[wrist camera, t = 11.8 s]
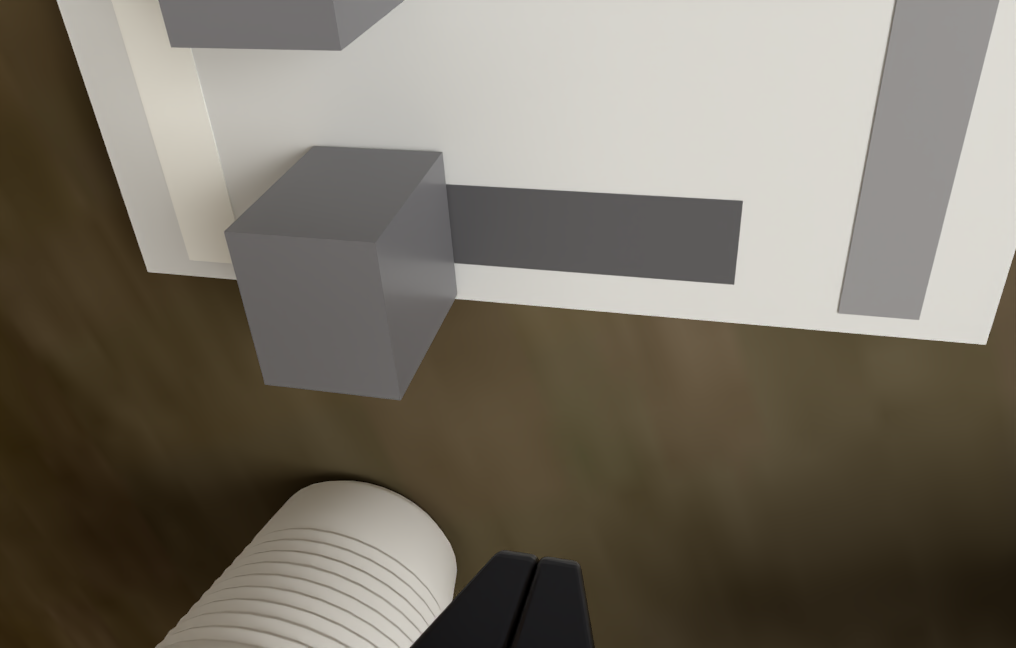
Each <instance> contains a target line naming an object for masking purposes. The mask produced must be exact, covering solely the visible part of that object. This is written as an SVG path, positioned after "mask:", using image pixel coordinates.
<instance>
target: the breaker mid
mask: <svg viewBox="0 0 1016 648" xmlns="http://www.w3.org/2000/svg"><path fill="white" fill-rule="evenodd" d="M158 1H159V5H160V8H161V12H162V16H163V19H164V23H165V27H166V30H167V34H168V38H169V41H170V45H171V47H175V48H225V49H276V50H326V51H342V50H343V49H344V48H345V47H347V46H348V45H349V44H350V43H352V42H353V41H354V40H355V39H357V38H358V37H359V36H360V35H362V34H363V33H364V32H365V31H367V30H368V29H369V28H370V27H372V26H373V25H374V24H376V23H377V22H378V21H379V20H381V19H382V18H383V17H384V16H386V15H387V14H388V13H389V12H391V11H392V10H393V9H394V8H396V7H397V6H398V5H399V4H401V3H402V2H403V1H404V0H158Z"/></svg>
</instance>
